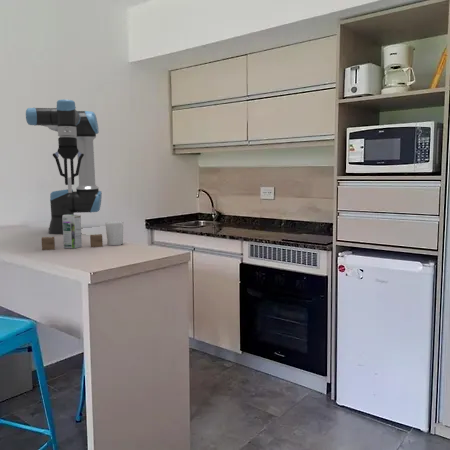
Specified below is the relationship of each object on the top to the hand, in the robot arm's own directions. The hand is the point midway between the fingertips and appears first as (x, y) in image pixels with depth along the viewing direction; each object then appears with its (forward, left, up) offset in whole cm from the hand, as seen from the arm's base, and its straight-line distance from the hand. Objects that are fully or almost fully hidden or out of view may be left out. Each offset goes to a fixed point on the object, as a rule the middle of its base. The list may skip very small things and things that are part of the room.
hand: (70, 192), depth 195 cm
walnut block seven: (+6, -8, -24) cm, 26 cm away
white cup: (-13, +13, -24) cm, 31 cm away
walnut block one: (-7, +7, -24) cm, 26 cm away
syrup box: (0, 0, -24) cm, 24 cm away
